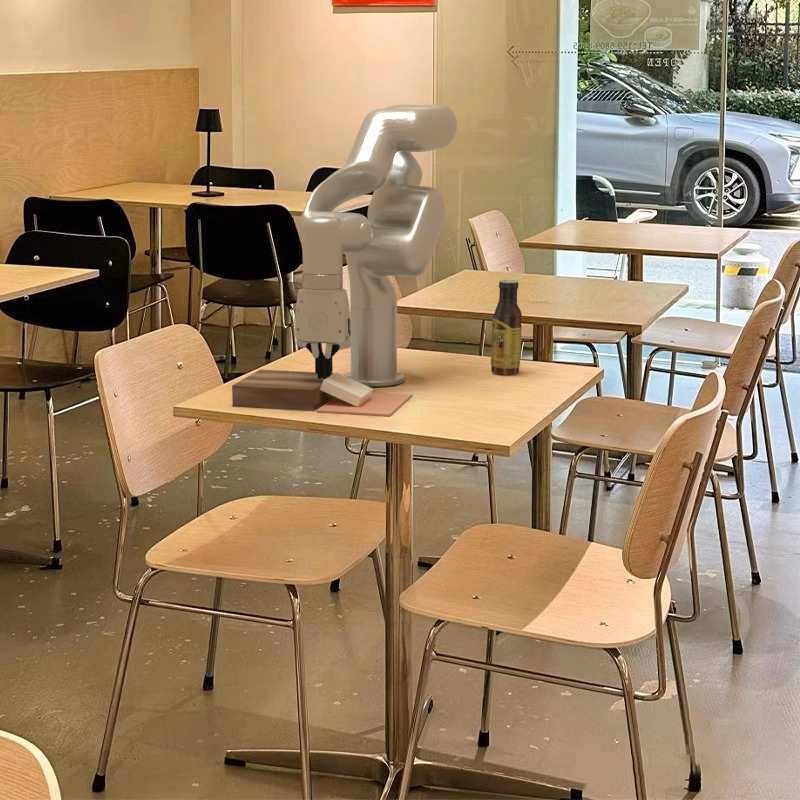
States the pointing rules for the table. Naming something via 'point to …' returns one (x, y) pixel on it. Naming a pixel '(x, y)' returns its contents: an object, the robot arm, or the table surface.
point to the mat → (368, 405)
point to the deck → (280, 390)
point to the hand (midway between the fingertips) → (324, 377)
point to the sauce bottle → (506, 331)
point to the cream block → (346, 389)
